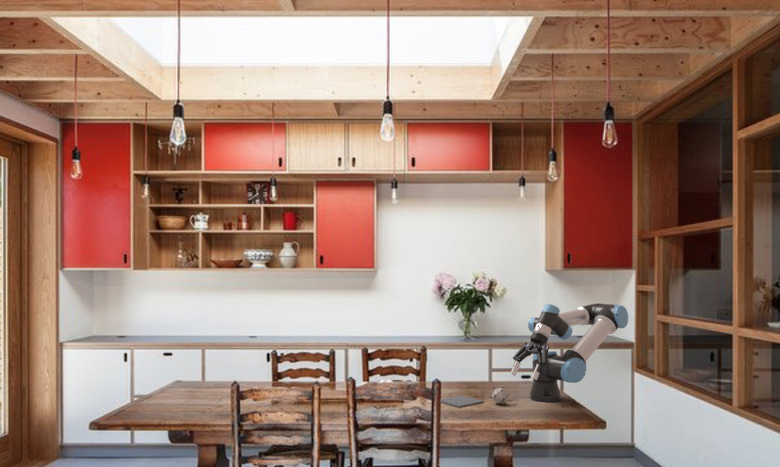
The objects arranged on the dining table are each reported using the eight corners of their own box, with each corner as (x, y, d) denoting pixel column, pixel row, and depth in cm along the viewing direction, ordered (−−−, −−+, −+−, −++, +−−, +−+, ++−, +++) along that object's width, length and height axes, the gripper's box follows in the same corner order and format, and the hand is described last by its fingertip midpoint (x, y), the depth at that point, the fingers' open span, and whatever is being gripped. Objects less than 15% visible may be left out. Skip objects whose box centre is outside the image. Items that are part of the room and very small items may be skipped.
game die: (503, 412, 299) (508, 398, 293) (486, 405, 301) (491, 391, 295) (508, 400, 306) (513, 386, 300) (491, 393, 308) (496, 379, 303)
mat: (460, 397, 317) (460, 395, 317) (483, 402, 304) (483, 401, 304) (436, 401, 307) (436, 400, 307) (459, 407, 294) (459, 406, 294)
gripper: (516, 329, 301) (499, 369, 294) (555, 333, 280) (538, 376, 272) (526, 337, 304) (509, 377, 297) (566, 341, 283) (548, 384, 275)
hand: (523, 376), depth 285 cm, fingers open, 13 cm apart
